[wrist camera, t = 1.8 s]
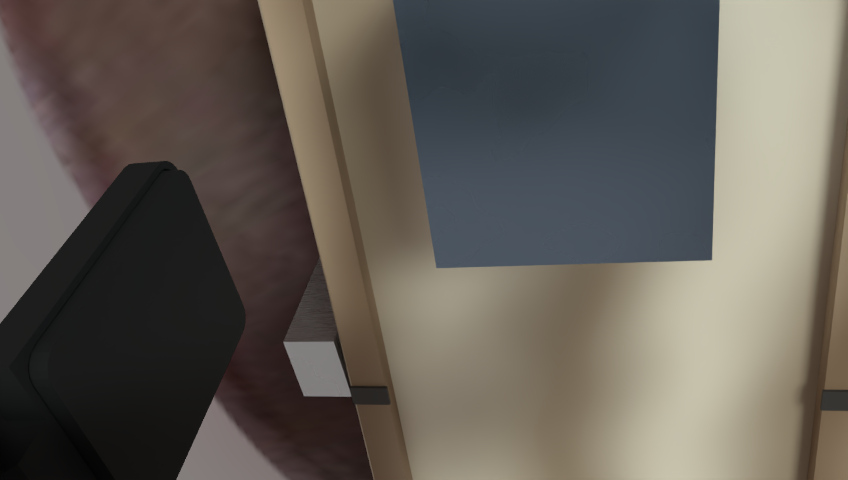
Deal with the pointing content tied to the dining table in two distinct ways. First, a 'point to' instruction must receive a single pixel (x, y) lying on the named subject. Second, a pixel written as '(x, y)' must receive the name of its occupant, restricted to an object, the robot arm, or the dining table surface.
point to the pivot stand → (317, 343)
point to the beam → (588, 277)
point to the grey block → (564, 128)
